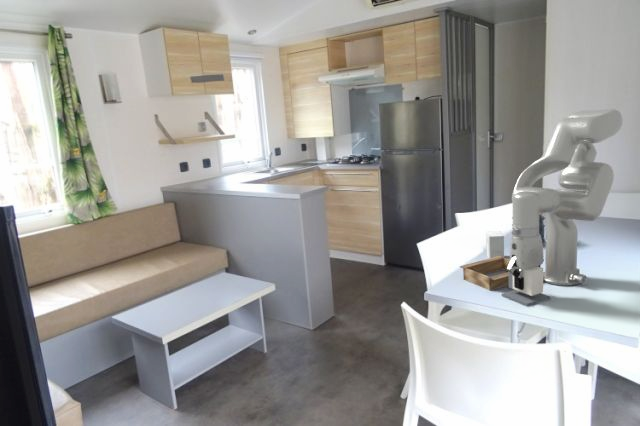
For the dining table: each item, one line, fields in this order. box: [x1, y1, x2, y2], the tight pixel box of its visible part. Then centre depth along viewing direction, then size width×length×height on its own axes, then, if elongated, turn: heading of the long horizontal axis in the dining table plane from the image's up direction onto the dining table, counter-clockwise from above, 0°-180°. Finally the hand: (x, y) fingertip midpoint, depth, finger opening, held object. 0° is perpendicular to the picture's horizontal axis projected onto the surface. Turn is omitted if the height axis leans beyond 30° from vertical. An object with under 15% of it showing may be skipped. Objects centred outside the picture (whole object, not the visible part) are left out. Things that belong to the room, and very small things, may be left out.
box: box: [508, 266, 544, 296], centre depth 143 cm, size 9×5×8 cm, turn 24°
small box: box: [485, 230, 505, 259], centre depth 182 cm, size 8×6×10 cm
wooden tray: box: [459, 256, 510, 291], centre depth 161 cm, size 17×19×4 cm
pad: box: [501, 289, 551, 307], centre depth 144 cm, size 10×10×1 cm
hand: (525, 285), depth 144 cm, fingers closed on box, 4 cm apart
